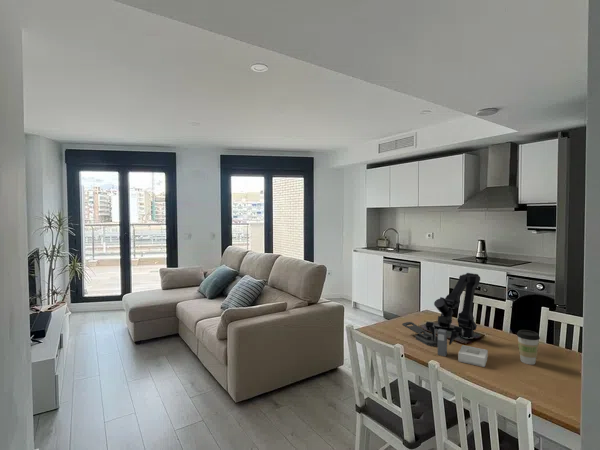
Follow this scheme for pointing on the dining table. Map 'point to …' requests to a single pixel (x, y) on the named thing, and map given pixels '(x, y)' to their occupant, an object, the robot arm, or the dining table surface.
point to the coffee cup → (528, 346)
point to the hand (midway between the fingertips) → (441, 343)
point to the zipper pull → (425, 337)
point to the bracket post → (442, 342)
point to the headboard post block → (473, 355)
